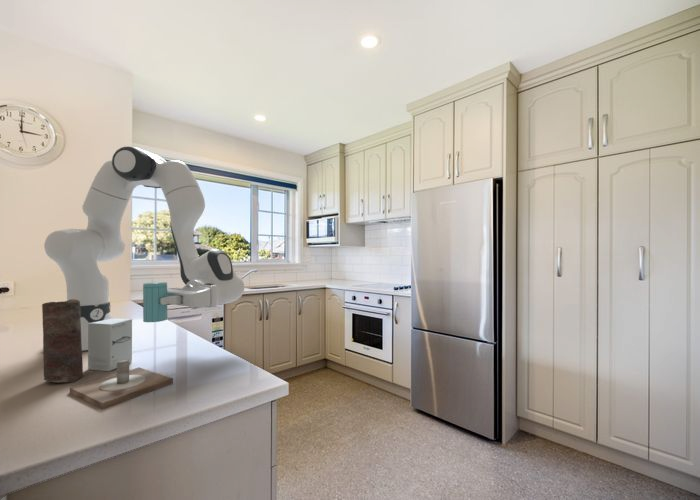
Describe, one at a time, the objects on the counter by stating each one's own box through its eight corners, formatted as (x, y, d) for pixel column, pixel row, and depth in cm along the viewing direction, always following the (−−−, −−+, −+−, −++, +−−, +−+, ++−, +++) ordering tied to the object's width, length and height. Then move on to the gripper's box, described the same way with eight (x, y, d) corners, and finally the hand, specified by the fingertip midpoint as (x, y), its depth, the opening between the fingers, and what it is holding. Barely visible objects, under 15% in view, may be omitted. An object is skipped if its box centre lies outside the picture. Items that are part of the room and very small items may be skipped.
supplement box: (109, 371, 89) (109, 324, 89) (86, 369, 90) (86, 323, 90) (133, 362, 96) (133, 318, 96) (111, 360, 98) (111, 317, 98)
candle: (37, 388, 78) (37, 302, 78) (48, 377, 85) (48, 298, 85) (78, 382, 82) (78, 300, 82) (86, 372, 88) (85, 296, 88)
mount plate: (69, 392, 76) (69, 365, 76) (139, 371, 89) (139, 348, 89) (102, 408, 68) (102, 378, 68) (172, 383, 81) (172, 357, 81)
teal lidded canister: (138, 320, 89) (138, 283, 89) (159, 317, 94) (159, 281, 94) (151, 323, 87) (150, 284, 87) (171, 319, 92) (171, 282, 92)
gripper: (176, 281, 107) (130, 286, 95) (220, 285, 97) (174, 290, 85) (176, 301, 107) (130, 308, 95) (220, 307, 97) (174, 315, 85)
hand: (152, 300), depth 90 cm, fingers closed on teal lidded canister, 6 cm apart
